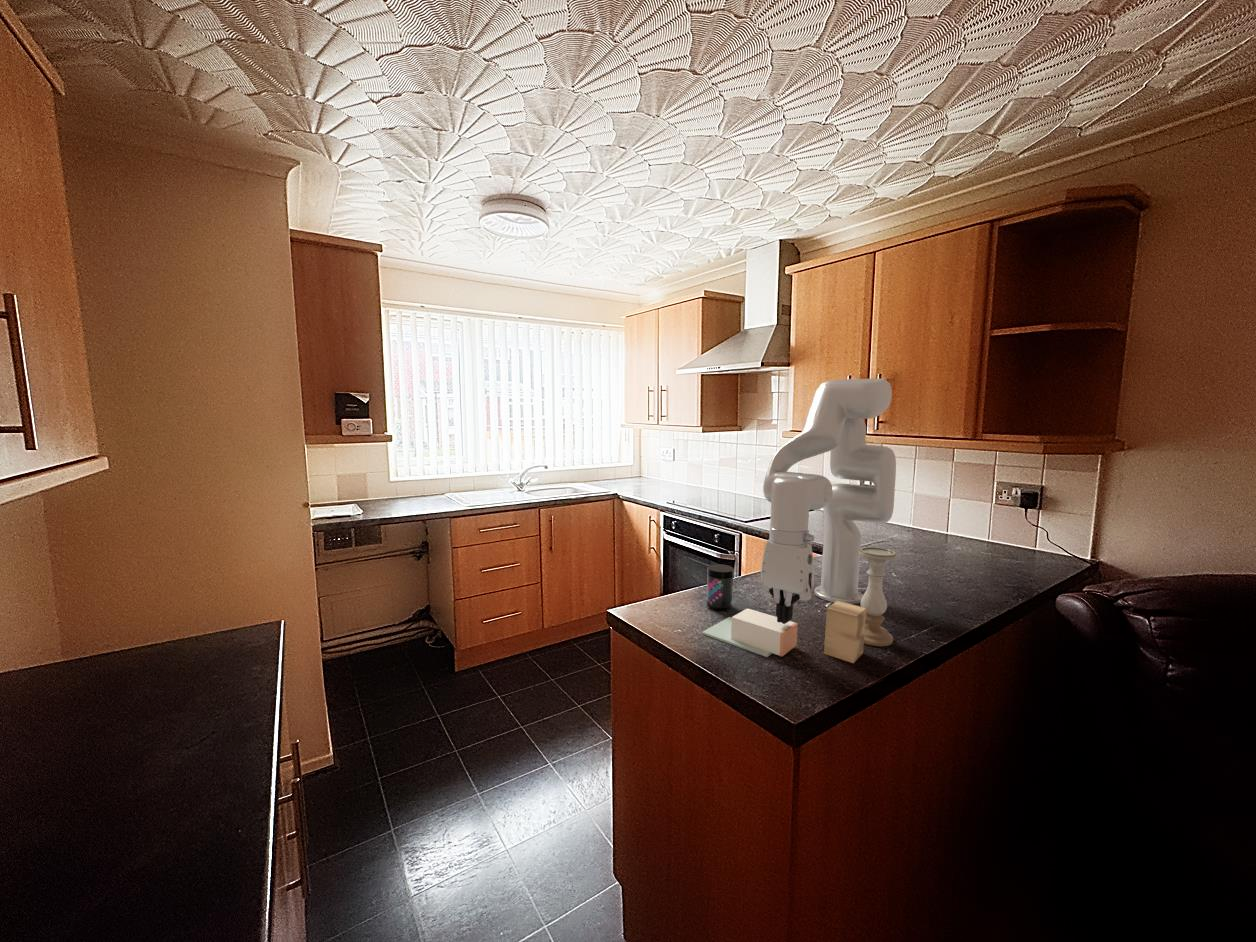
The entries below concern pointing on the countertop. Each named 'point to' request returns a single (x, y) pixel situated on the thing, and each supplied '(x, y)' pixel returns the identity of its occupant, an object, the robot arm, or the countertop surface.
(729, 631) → the mat
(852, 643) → the oak block
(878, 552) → the candle holder
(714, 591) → the supplement container
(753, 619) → the cream block
